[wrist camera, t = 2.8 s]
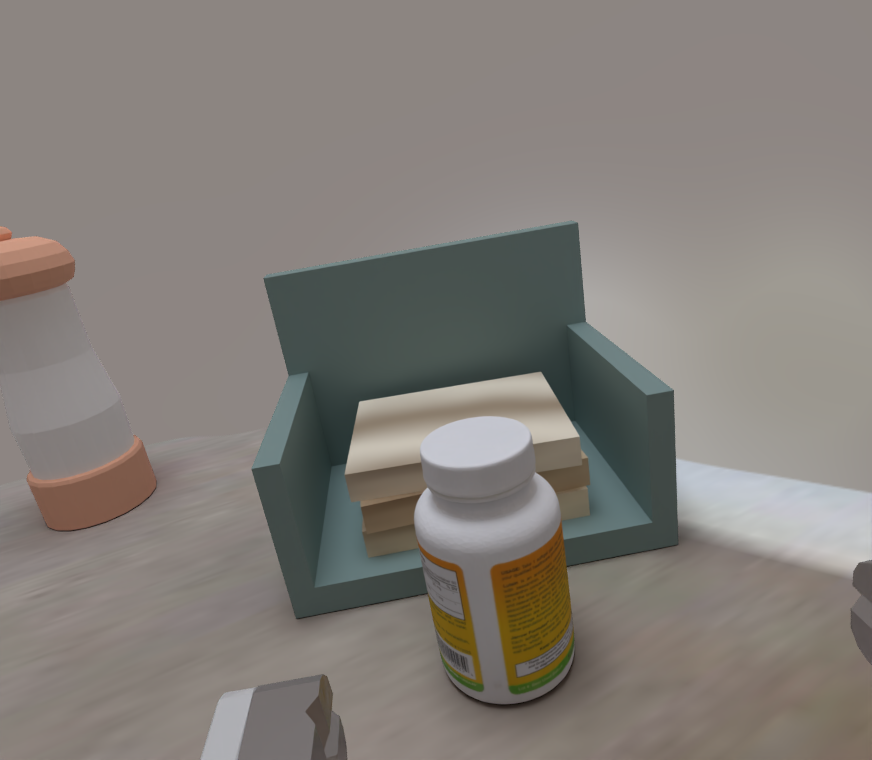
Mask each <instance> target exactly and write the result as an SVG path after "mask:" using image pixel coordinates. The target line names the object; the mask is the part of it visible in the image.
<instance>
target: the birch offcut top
mask: <svg viewBox="0 0 872 760" xmlns="http://www.w3.org/2000/svg"><path fill="white" fill-rule="evenodd" d="M482 416H496V417H505V418H510V419H514V420H517V421H519V422H521V423H523V424H524V425H525V426H527V427H528V429H529V430H530V432H531V435H532V440H533V447H534V453H535V462H536V463H535V472H543V471H549V470H555V469H561V468H567V467H573V466H580V465H582V457H581V446H580V436H579V434H578V433H577V431H576V429H575V428H574V426H573V424H572V423H571V421H570V419H569V418H568V416H567V414H566V413H565V411H564V409H563V408H562V406H561V404H560V403H559V401H558V399H557V398H556V396H555V394H554V393H553V391H552V389H551V388H550V386H549V384H548V383H547V381H546V379H545V378H544V376H543V374H542V372H536V373H530V374H524V375H518V376H512V377H506V378H499V379H493V380H487V381H481V382H475V383H469V384H463V385H457V386H451V387H445V388H439V389H433V390H427V391H421V392H415V393H408V394H402V395H396V396H390V397H384V398H378V399H372V400H366V401H360V402H359V406H358V411H357V415H356V420H355V425H354V430H353V435H352V440H351V445H350V450H349V455H348V460H347V464H346V469H345V474H344V475H345V479H346V483H347V488H348V492H349V496H350V500H351V502H357V501H363V500H369V499H376V498H382V497H388V496H394V495H400V494H407V493H413V492H419V491H425V490H426V489H427V484H426V482H425V480H424V478H423V470H422V464H421V457H420V446H421V443H422V441H423V440H424V439H425V437H426V436H427V435H429V434H430V433H431V432H433V431H434V430H436V429H438V428H439V427H442V426H444V425H446V424H449V423H452V422H455V421H458V420H462V419H467V418H474V417H482Z"/></svg>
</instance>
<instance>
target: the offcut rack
mask: <svg viewBox="0 0 872 760" xmlns="http://www.w3.org/2000/svg"><path fill="white" fill-rule="evenodd" d="M264 282H265V286H266V290H267V294H268V298H269V302H270V305H271V309H272V313H273V317H274V320H275V325H276V329H277V332H278V336H279V340H280V344H281V348H282V352H283V355H284V359H285V363H286V367H287V371H288V374H289V377H288V379H287V381H286V384H285V386H284V389H283V392H282V394H281V396H280V399H279V402H278V404H277V406H276V409H275V412H274V414H273V416H272V420H271V421H270V424H269V426H268V429H267V431H266V434H265V436H264V439H263V441H262V444H261V446H260V449H259V451H258V454H257V456H256V459H255V461H254V464H253V466H252V472H253V476H254V479H255V482H256V486H257V489H258V492H259V496H260V499H261V502H262V506H263V509H264V513H265V516H266V519H267V523H268V526H269V529H270V533H271V536H272V539H273V543H274V546H275V549H276V553H277V556H278V559H279V563H280V566H281V569H282V573H283V576H284V579H285V583H286V586H287V589H288V593H289V596H290V599H291V603H292V606H293V609H294V613H295V616H296V619H297V618H302V617H307V616H312V615H318V614H323V613H328V612H333V611H338V610H343V609H348V608H354V607H359V606H364V605H369V604H374V603H379V602H384V601H390V600H395V599H400V598H405V597H410V596H415V595H420V594H426V593H428V592H427V587H426V582H425V577H424V572H423V566H422V562H421V557H420V552H419V548H417V549H412V550H407V551H401V552H396V553H391V554H386V555H380V556H375V557H370V558H368V554H367V550H366V546H365V542H364V538H363V533H362V521H363V515H362V511H361V504H360V501H357V502H351V500H350V496H349V492H348V488H347V483H346V479H345V475H344V474H345V469H346V464H347V460H348V455H349V450H350V445H351V440H352V435H353V430H354V425H355V420H356V415H357V411H358V406H359V402H360V401H366V400H372V399H378V398H384V397H390V396H396V395H402V394H408V393H415V392H421V391H427V390H433V389H439V388H445V387H451V386H457V385H463V384H469V383H475V382H481V381H487V380H493V379H499V378H506V377H512V376H518V375H524V374H530V373H536V372H542V374H543V376H544V378H545V379H546V381H547V383H548V384H549V386H550V388H551V389H552V391H553V393H554V394H555V396H556V398H557V399H558V401H559V403H560V404H561V406H562V408H563V409H564V411H565V413H566V414H567V416H568V418H569V419H570V421H571V423H572V424H573V426H574V428H575V429H576V431H577V433H578V434H579V436H580V446H581V450H582V451H583V452H584V453H585V455H586V456H587V457H588V462H589V474H590V485H588V486H586V487H587V488H588V497H589V509H590V515H589V516H584V517H578V518H573V519H568V520H563V521H562V529H563V538H564V547H565V556H566V565H567V566H570V565H575V564H580V563H585V562H590V561H595V560H601V559H606V558H611V557H616V556H621V555H626V554H631V553H637V552H642V551H647V550H652V549H657V548H662V547H668V546H673V545H678V520H677V486H676V452H675V418H674V390H673V389H671V388H670V387H669V386H667V385H666V384H665V383H664V382H662V381H661V380H660V379H659V378H657V377H656V376H655V375H653V374H652V373H651V372H650V371H648V370H647V369H646V368H644V367H643V366H642V365H641V364H639V363H638V362H636V361H635V360H634V359H633V358H631V357H630V356H629V355H628V354H627V353H625V352H624V351H623V350H621V349H620V348H619V347H618V346H616V345H615V344H614V343H612V342H611V341H610V340H608V339H607V338H606V337H605V336H603V335H602V334H601V333H600V332H598V331H597V330H596V329H594V328H593V327H592V326H591V325H589V324H588V323H587V322H586V318H585V306H584V293H583V280H582V268H581V255H580V242H579V230H578V223H577V222H574V221H568V222H563V223H557V224H551V225H546V226H540V227H534V228H529V229H522V230H517V231H512V232H505V233H500V234H494V235H489V236H483V237H477V238H472V239H466V240H460V241H455V242H449V243H443V244H438V245H432V246H426V247H422V248H416V249H409V250H404V251H398V252H392V253H387V254H382V255H376V256H370V257H364V258H359V259H353V260H347V261H342V262H336V263H331V264H325V265H319V266H314V267H308V268H302V269H296V270H291V271H285V272H280V273H274V274H269V275H266V276H265V277H264Z"/></svg>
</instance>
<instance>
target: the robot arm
mask: <svg viewBox="0 0 872 760" xmlns="http://www.w3.org/2000/svg"><path fill="white" fill-rule="evenodd" d="M853 586H854V587H855V588H856V589H857V591H858V592H859V593H860V594H861V596H860V598H859V599H858V600H857V602H856V603H855V604H854V606H853V607H852V608H851V629H852V632H853V635H854V638H855V640H856V643H857V646H858V647H859V649H860V650H861V652H862V653H863V655H864V656H865V658H866V659H867V661H868V662H869V663H870V664H871V665H872V560H869V561H865V562H860V563H859V564H858V565H857V567H856V568H855V570H854V573H853ZM332 697H333V693H332V690H331V687H330V684H329V681H328V678H327V676H325V675H323V674H322V675H316V676H311V677H305V678H300V679H294V680H289V681H283V682H278V683H272V684H267V685H261V686H258V687H256V688H250V689H244V690H238V691H232V692H227V693H224V694H223V696H222V697H221V698H220V700H219V701H218V703H217V706H216V709H215V712H214V716H213V719H212V722H211V726H210V729H209V732H208V735H207V739H206V742H205V745H204V749H203V752H202V755H201V759H200V760H347V747H346V740H345V735H344V729H343V726H342V722H341V719H340V716H339V715H337V714H336V713H334V712H333V711H332Z"/></svg>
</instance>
